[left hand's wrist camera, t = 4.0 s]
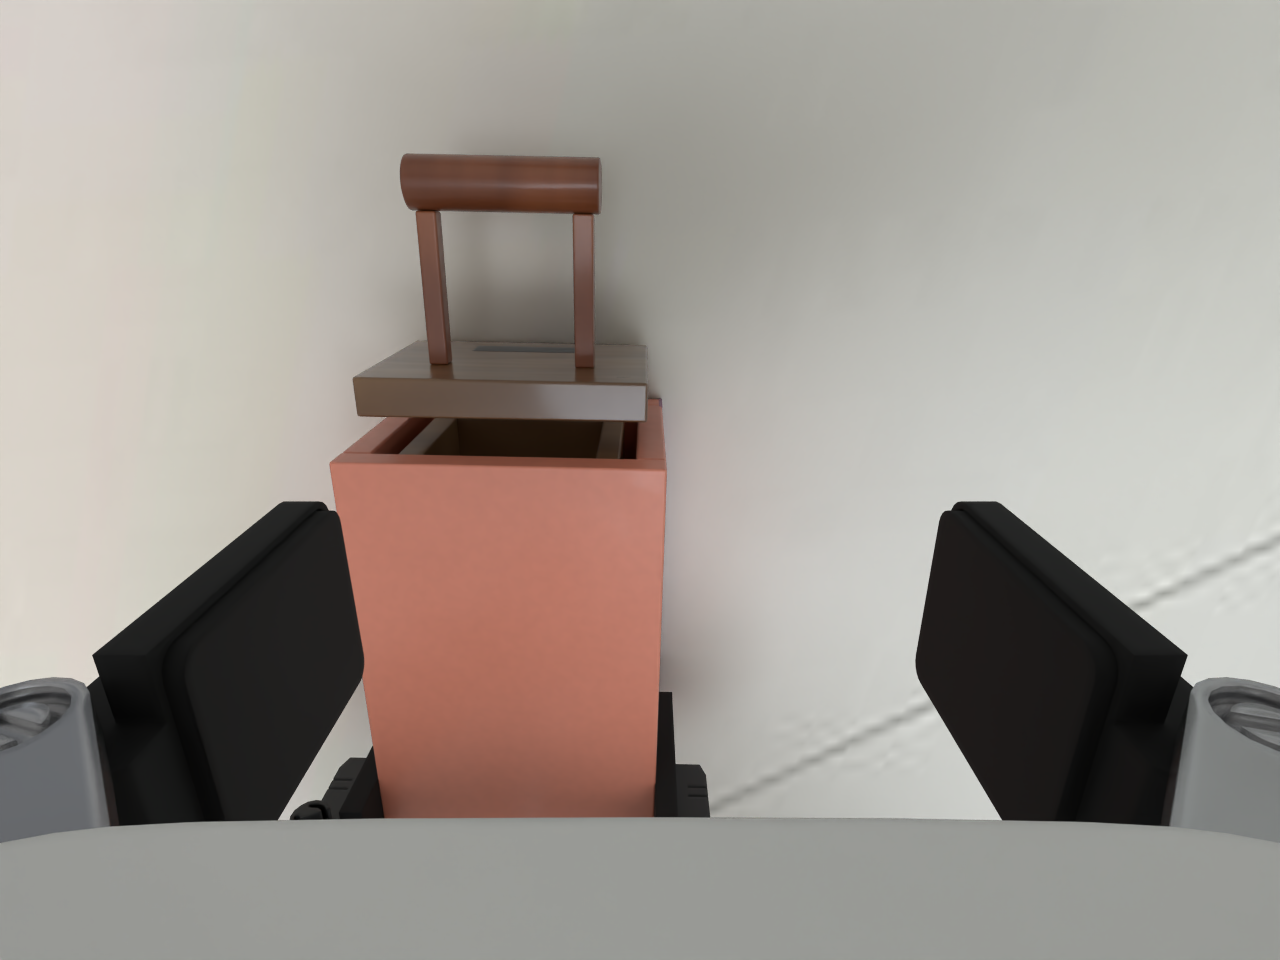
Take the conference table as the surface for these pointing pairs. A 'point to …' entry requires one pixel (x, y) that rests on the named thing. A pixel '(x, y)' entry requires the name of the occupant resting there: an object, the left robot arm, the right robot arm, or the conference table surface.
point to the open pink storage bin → (508, 624)
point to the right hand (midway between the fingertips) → (538, 714)
